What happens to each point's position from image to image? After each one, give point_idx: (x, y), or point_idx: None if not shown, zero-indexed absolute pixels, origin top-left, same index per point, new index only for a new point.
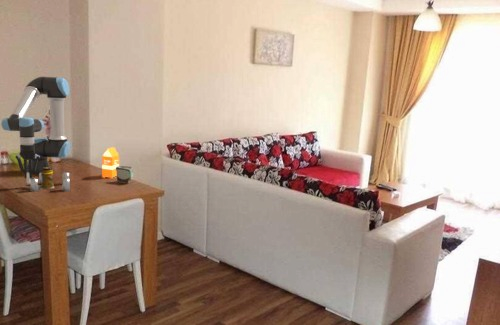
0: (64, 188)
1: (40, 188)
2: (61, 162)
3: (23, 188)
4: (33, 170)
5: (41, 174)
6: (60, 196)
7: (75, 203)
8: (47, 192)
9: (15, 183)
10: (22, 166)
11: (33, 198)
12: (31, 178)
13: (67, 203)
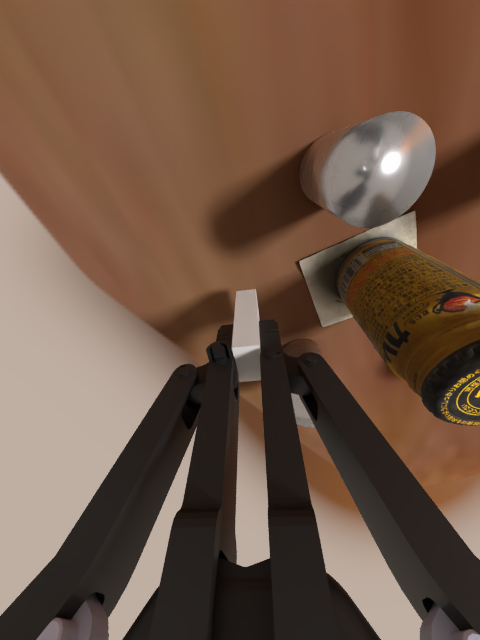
0: None
1: (327, 315)
2: None
3: (226, 317)
4: (310, 398)
5: (357, 225)
6: (424, 418)
7: (460, 468)
8: (370, 376)
9: (93, 177)
10: (178, 427)
11: (319, 438)
12: (297, 406)
13: (434, 468)
